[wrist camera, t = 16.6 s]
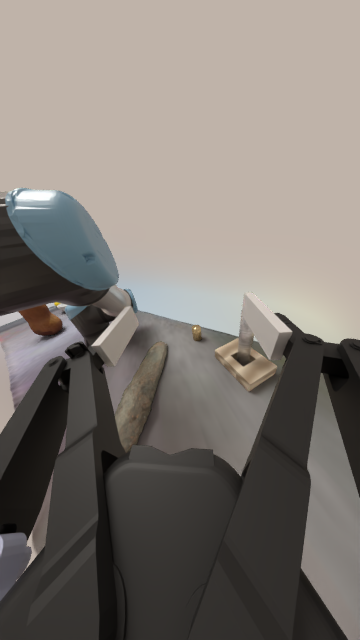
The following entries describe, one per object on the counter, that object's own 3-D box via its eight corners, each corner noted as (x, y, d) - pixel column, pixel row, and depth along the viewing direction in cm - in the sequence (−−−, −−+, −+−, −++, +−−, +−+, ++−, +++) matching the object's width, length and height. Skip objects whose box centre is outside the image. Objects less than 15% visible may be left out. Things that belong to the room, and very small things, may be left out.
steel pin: (233, 363, 42) (238, 310, 31) (241, 358, 43) (249, 306, 32) (242, 371, 39) (250, 316, 28) (250, 366, 40) (262, 311, 29)
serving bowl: (91, 304, 117) (87, 297, 113) (66, 316, 104) (60, 308, 100) (83, 302, 129) (79, 295, 125) (59, 312, 116) (54, 305, 112)
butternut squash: (68, 324, 90) (42, 290, 76) (65, 333, 79) (33, 296, 66) (44, 333, 84) (11, 298, 71) (37, 343, 74) (-3, 305, 61)
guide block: (215, 356, 45) (215, 349, 43) (237, 345, 48) (237, 338, 46) (248, 391, 34) (250, 384, 32) (274, 374, 37) (277, 366, 35)
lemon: (57, 308, 129) (52, 303, 125) (56, 306, 132) (52, 302, 129) (64, 304, 132) (60, 299, 129) (64, 303, 135) (59, 298, 132)
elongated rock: (174, 347, 55) (153, 348, 57) (171, 338, 52) (149, 339, 55) (137, 469, 25) (97, 460, 28) (126, 461, 23) (83, 451, 25)
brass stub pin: (191, 338, 56) (190, 327, 52) (198, 334, 57) (197, 323, 53) (196, 342, 53) (195, 331, 50) (203, 338, 54) (202, 327, 51)
